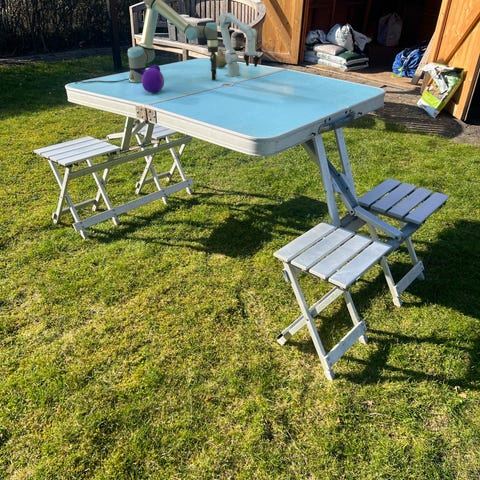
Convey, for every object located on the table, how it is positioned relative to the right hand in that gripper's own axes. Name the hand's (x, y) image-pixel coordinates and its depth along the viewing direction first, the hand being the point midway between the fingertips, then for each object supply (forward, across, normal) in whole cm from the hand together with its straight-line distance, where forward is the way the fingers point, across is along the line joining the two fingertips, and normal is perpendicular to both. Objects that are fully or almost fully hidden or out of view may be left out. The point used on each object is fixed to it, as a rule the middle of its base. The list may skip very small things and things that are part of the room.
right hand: (251, 66), depth 338 cm
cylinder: (+8, -19, -22) cm, 30 cm away
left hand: (+8, -19, -22) cm, 30 cm away
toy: (+8, -31, -75) cm, 81 cm away
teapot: (+8, -48, +22) cm, 54 cm away
